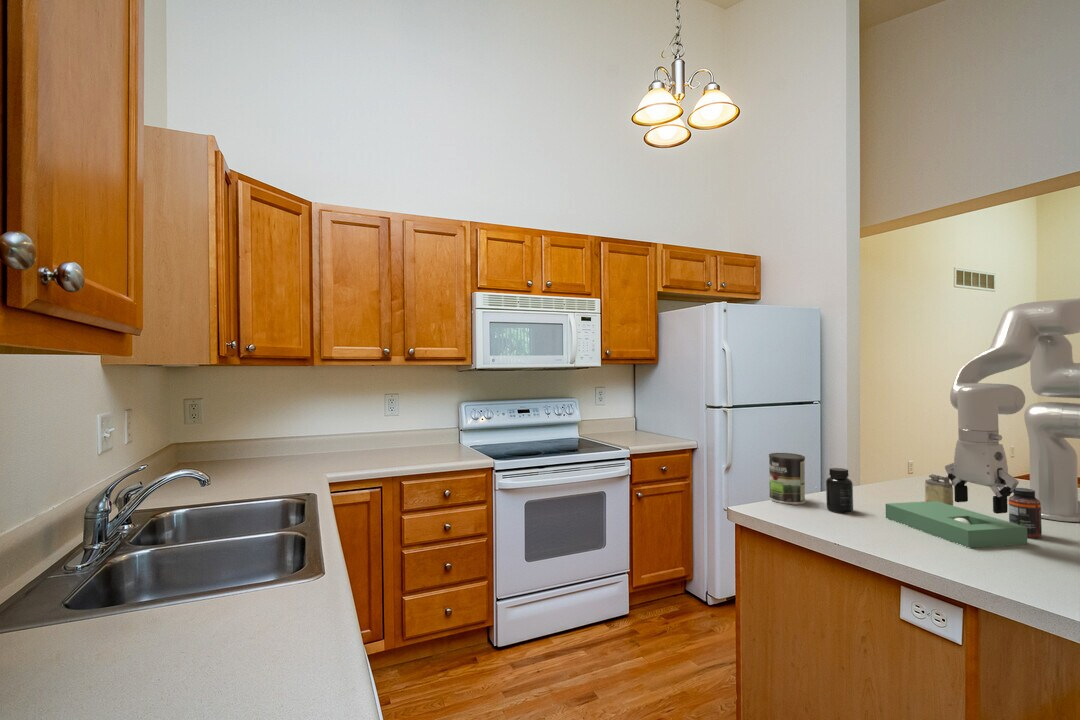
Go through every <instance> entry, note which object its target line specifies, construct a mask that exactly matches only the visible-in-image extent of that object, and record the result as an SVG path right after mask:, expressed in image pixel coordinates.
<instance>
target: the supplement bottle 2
mask: <svg viewBox="0 0 1080 720" xmlns="http://www.w3.org/2000/svg"><path fill="white" fill-rule="evenodd" d="M1012 494H1013V495H1010V496H1008V497H1009V498H1008V522H1011V523H1015V524H1018V525H1022V526H1025V527H1027V539H1028V538H1031V539H1034V538H1035V539H1037V538H1040V537H1042V534H1043V533H1042V518H1041V503H1040V501H1039V500H1038V499H1036V498H1035V491H1034V490H1032V489H1030V488H1028V487H1027V488H1026V487H1025V488H1024V487H1016V488H1015V491H1014V492H1013V493H1012Z"/></svg>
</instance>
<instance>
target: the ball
mask: <svg viewBox="0 0 1080 720" xmlns="http://www.w3.org/2000/svg"><path fill="white" fill-rule="evenodd" d="M954 520H957V521H960V522H964V523H967V524H970V522H969V521H967V520H966V519H964V518H955V519H954ZM970 525H971V524H970Z"/></svg>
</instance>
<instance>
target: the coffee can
mask: <svg viewBox="0 0 1080 720" xmlns="http://www.w3.org/2000/svg"><path fill="white" fill-rule="evenodd" d="M768 458H769V459H768V460H769V465H768V466H769V467H768V469H769V498H768V499H769V500H770V501H772V502H774V503H778V504H783V505H784V504H785V505H802V504H805V502H806V497H805V496H806V495H805V493H806V492H805V491H806V490H805V483H806V481H805V477H806V476H805V473H806V472H805V468H806V466H805V463H806V462H805V461H806V460H805V459H806V456H804V455H802V454H798V453H790V452H774V453H773V452H771V453H769V454H768Z"/></svg>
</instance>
